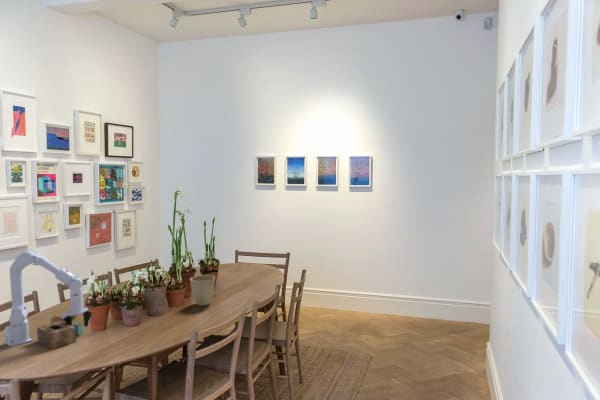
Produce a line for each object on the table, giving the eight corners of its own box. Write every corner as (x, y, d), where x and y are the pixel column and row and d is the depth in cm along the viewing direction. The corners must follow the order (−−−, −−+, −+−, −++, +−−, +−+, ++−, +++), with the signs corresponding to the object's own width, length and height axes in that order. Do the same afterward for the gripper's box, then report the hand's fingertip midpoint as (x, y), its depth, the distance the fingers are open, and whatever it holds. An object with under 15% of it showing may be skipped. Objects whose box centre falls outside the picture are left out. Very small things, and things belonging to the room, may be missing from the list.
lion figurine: (78, 323, 238) (77, 306, 237) (79, 325, 233) (78, 309, 232) (47, 328, 230) (46, 311, 230) (47, 331, 226) (46, 313, 225)
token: (78, 335, 219) (78, 325, 218) (74, 333, 222) (73, 323, 221) (82, 334, 220) (82, 324, 220) (78, 332, 223) (77, 322, 223)
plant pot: (186, 306, 263) (185, 280, 262) (197, 299, 278) (197, 274, 277) (209, 308, 260) (208, 281, 259) (219, 300, 274) (219, 275, 273)
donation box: (51, 348, 202) (50, 334, 201) (37, 341, 212) (37, 326, 212) (75, 341, 210) (75, 327, 210) (61, 334, 221) (61, 320, 220)
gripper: (65, 307, 212) (66, 334, 213) (95, 299, 223) (96, 326, 224) (58, 304, 216) (60, 331, 217) (88, 297, 227) (90, 323, 228)
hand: (78, 328), depth 221 cm, fingers open, 7 cm apart
